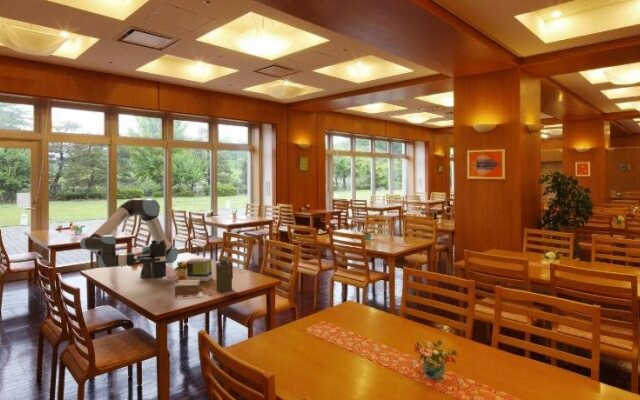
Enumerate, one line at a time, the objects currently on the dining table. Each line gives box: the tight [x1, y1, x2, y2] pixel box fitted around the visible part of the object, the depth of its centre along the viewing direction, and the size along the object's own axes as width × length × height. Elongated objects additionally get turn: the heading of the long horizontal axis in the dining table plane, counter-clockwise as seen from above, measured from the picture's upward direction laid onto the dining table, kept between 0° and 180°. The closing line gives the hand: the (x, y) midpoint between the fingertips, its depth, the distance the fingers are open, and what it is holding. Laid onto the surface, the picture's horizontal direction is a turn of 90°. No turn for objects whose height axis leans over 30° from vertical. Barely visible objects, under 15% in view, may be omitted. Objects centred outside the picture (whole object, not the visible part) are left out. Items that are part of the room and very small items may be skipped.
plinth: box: [174, 279, 202, 297], centre depth 257 cm, size 14×14×6 cm
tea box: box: [186, 258, 213, 282], centre depth 286 cm, size 15×10×15 cm
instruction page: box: [176, 291, 203, 300], centre depth 250 cm, size 10×15×1 cm, turn 109°
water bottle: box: [149, 239, 167, 279], centre depth 250 cm, size 10×10×23 cm
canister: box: [215, 258, 234, 293], centre depth 262 cm, size 11×10×20 cm
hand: (166, 257), depth 251 cm, fingers closed on water bottle, 9 cm apart
